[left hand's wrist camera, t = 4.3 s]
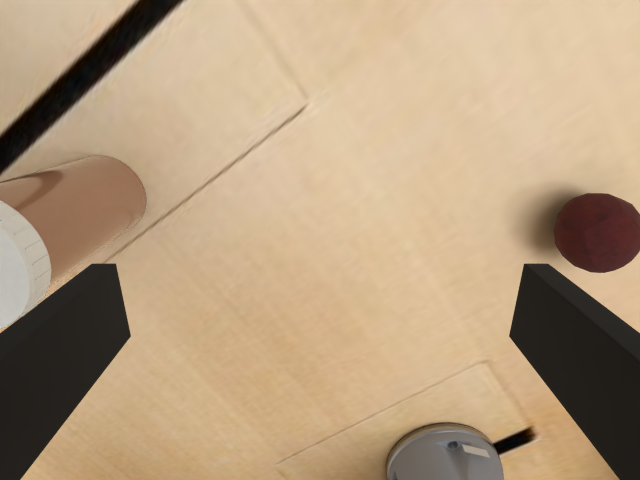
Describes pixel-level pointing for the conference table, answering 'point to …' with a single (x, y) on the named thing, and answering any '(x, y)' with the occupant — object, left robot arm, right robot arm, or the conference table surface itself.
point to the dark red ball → (598, 232)
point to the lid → (20, 266)
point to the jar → (77, 207)
